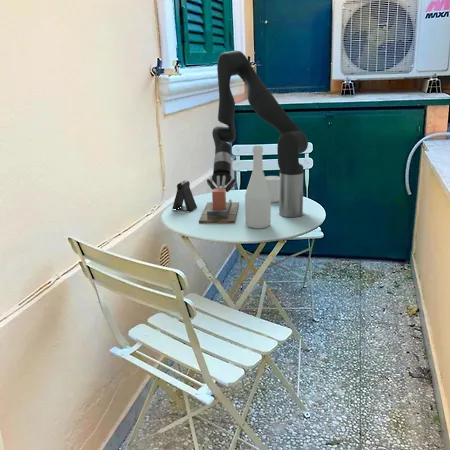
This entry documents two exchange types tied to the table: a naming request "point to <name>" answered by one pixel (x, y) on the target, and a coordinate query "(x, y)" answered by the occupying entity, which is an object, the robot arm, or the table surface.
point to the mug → (273, 187)
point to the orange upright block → (219, 199)
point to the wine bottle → (257, 195)
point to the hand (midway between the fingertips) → (220, 199)
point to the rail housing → (219, 213)
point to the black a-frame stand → (184, 197)
